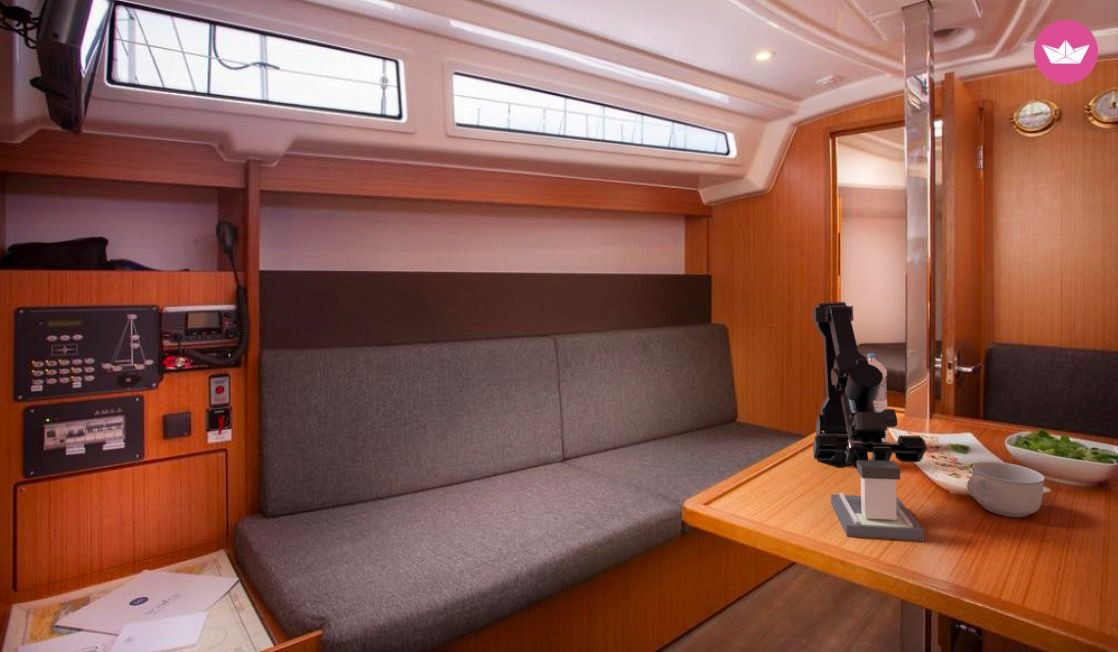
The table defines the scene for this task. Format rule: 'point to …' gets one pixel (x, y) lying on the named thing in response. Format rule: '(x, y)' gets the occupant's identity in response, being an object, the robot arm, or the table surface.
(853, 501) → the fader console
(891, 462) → the fader knob
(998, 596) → the table surface
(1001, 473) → the teacup
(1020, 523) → the table surface
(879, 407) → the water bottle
